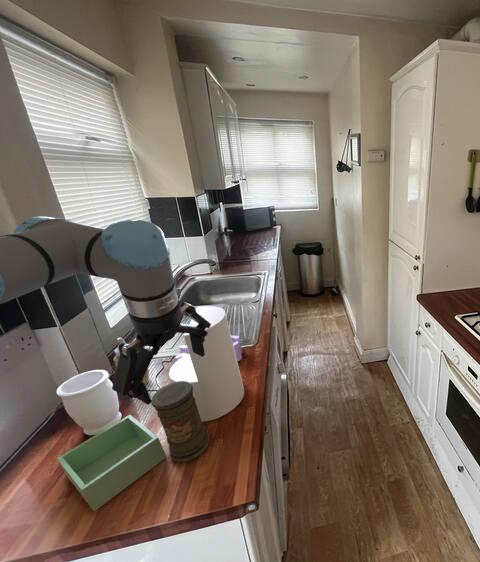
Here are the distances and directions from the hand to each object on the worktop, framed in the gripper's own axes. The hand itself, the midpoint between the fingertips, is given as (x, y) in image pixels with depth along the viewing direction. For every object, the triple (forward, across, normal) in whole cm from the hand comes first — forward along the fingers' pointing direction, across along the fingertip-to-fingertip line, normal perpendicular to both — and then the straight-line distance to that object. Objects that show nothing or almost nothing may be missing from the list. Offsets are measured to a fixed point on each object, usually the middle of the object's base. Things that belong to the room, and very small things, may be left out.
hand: (174, 375), depth 67 cm
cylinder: (+30, +12, +3) cm, 33 cm away
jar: (+35, -6, +26) cm, 44 cm away
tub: (+28, -13, +8) cm, 32 cm away
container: (+25, -3, -4) cm, 26 cm away
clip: (+38, +26, +18) cm, 49 cm away
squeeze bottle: (+40, +8, +32) cm, 52 cm away
